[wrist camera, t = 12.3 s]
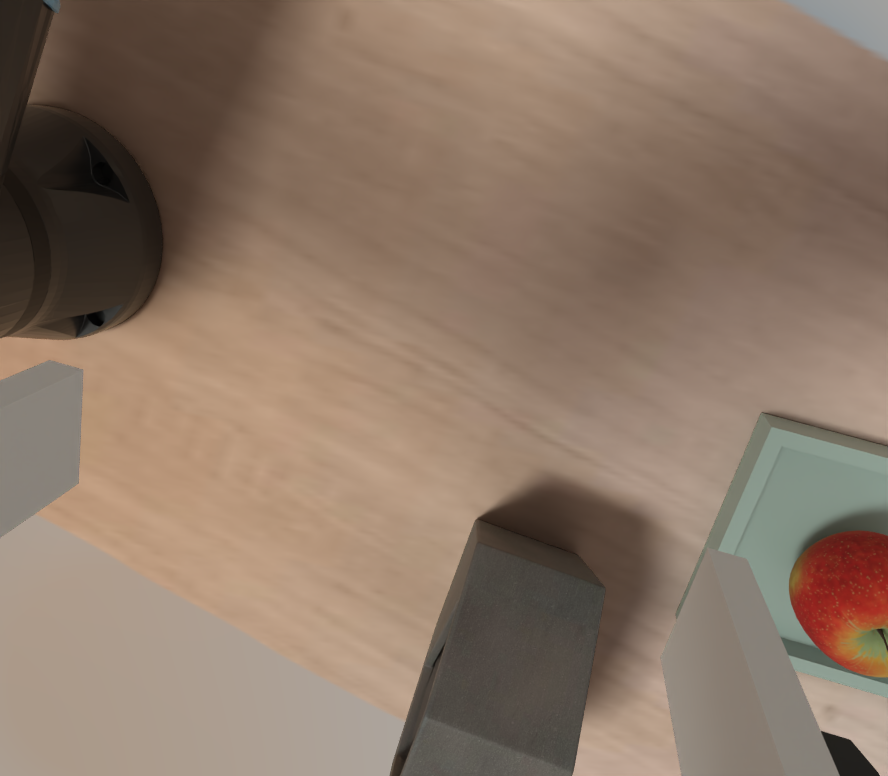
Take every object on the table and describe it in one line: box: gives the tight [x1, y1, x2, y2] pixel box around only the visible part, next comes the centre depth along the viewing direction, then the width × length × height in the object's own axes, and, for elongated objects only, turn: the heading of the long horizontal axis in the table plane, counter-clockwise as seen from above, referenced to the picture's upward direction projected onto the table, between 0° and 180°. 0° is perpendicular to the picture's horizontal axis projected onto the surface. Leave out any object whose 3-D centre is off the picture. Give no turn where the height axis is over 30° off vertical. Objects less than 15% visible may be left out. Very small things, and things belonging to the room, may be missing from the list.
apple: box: [789, 530, 888, 677], centre depth 41 cm, size 8×8×10 cm
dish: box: [676, 413, 888, 698], centre depth 45 cm, size 16×16×2 cm
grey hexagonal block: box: [390, 519, 605, 776], centre depth 44 cm, size 17×8×21 cm
